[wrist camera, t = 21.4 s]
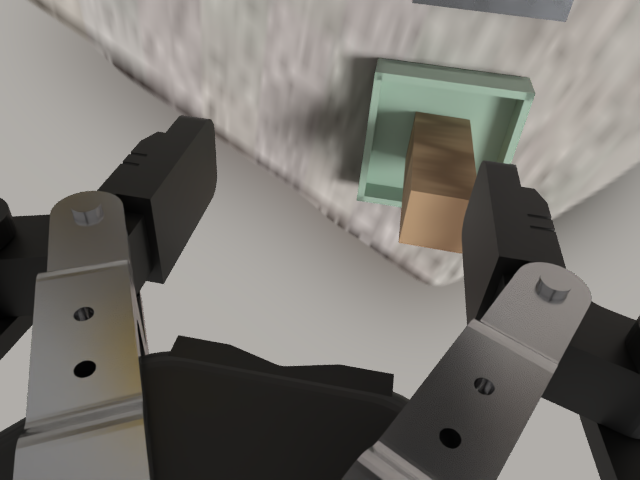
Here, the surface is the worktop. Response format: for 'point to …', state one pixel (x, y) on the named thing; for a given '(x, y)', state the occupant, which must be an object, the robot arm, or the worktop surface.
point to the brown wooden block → (437, 182)
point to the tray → (441, 99)
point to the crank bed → (511, 7)
